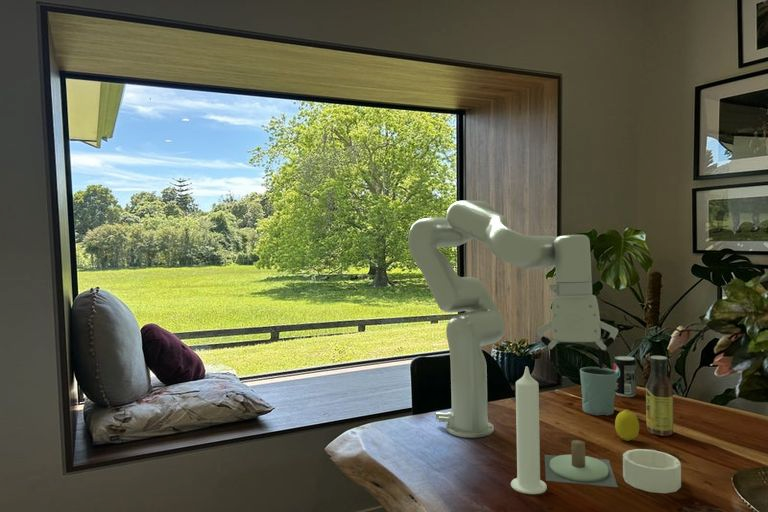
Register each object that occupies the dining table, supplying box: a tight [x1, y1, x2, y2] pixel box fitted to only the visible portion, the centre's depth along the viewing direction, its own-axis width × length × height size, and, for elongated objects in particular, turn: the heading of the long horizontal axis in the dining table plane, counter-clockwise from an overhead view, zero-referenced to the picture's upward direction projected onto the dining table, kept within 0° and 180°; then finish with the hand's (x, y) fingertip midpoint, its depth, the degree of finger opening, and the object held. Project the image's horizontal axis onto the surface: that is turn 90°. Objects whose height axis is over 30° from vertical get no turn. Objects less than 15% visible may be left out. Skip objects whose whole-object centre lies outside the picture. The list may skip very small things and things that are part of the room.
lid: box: [550, 439, 608, 482], centre depth 118 cm, size 12×12×6 cm
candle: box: [510, 366, 548, 495], centre depth 110 cm, size 7×7×25 cm
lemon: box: [614, 409, 640, 442], centre depth 134 cm, size 6×6×8 cm
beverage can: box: [613, 355, 638, 398], centre depth 174 cm, size 7×7×12 cm
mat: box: [544, 454, 619, 488], centre depth 118 cm, size 14×14×1 cm
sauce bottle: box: [645, 355, 674, 437], centre depth 139 cm, size 6×6×20 cm
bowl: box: [622, 448, 682, 494], centre depth 111 cm, size 10×10×5 cm
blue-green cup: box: [579, 366, 617, 416], centre depth 158 cm, size 10×10×12 cm
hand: (578, 366), depth 120 cm, fingers open, 9 cm apart
